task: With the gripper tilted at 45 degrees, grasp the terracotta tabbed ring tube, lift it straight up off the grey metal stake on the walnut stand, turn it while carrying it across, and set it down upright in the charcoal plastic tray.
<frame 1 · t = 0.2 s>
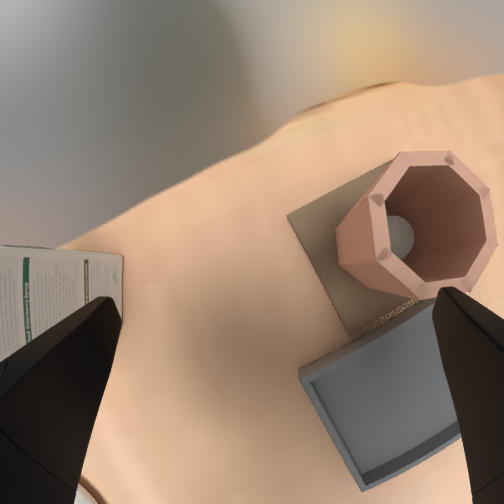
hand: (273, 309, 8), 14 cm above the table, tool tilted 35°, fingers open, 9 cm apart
charcoal tray: (399, 393, 21), on the table
ring tube: (377, 243, 21), point 1 cm above the table, touching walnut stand
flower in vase: (77, 501, 24), on the table
syrup box: (96, 288, 24), on the table
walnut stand: (373, 244, 22), on the table
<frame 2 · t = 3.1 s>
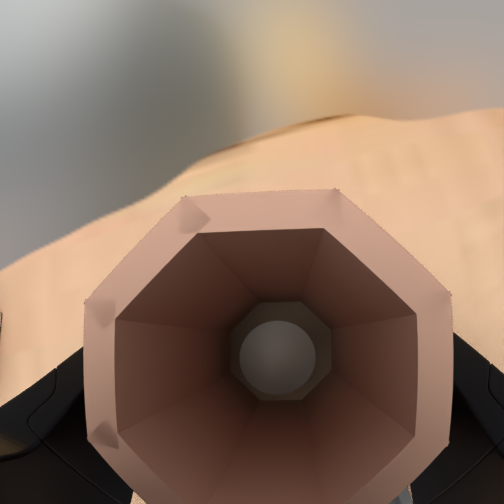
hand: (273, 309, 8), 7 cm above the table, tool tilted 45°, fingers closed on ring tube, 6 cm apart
ring tube: (280, 351, 14), point 1 cm above the table, touching gripper, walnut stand
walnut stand: (281, 350, 15), on the table
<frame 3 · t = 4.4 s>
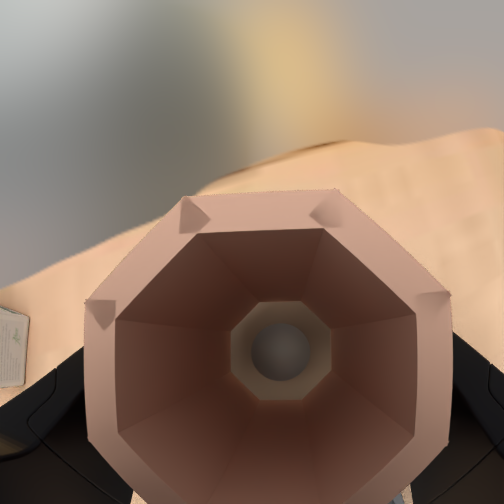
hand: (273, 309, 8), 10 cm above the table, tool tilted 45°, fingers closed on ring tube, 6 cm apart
ring tube: (280, 351, 14), point 4 cm above the table, touching gripper
syrup box: (8, 343, 20), on the table
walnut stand: (283, 347, 18), on the table
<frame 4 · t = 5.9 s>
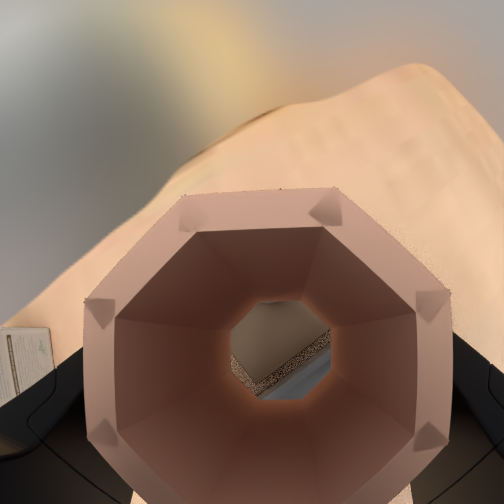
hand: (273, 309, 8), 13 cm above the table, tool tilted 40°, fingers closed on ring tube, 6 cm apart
charcoal tray: (333, 437, 19), on the table
ring tube: (280, 351, 14), point 7 cm above the table, touching gripper
syrup box: (34, 360, 23), on the table
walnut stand: (270, 285, 21), on the table
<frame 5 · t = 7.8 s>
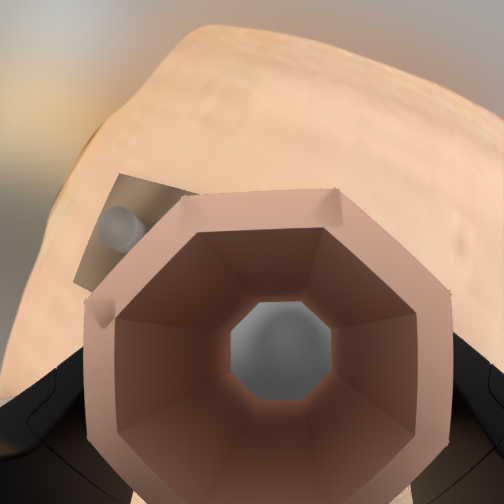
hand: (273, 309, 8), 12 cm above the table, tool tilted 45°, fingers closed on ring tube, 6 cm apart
charcoal tray: (282, 344, 20), on the table
ring tube: (280, 351, 14), point 6 cm above the table, touching gripper
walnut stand: (147, 247, 22), on the table
when the fingers open (8 cm above the table, at t = 9.2 s): ring tube stays where it is, resting on charcoal tray.
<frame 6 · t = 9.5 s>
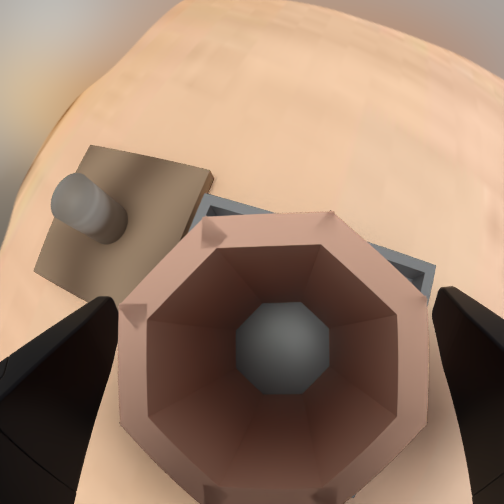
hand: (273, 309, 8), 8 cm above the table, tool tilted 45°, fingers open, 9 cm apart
charcoal tray: (281, 349, 15), on the table
ring tube: (282, 349, 15), point 1 cm above the table, touching charcoal tray
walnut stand: (117, 229, 18), on the table
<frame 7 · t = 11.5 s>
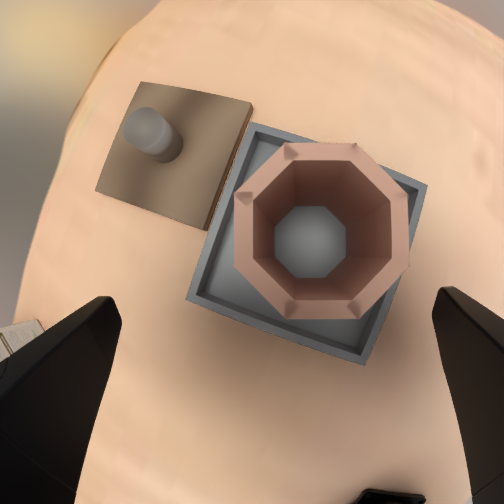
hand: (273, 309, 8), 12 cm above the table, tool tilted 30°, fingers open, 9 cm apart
charcoal tray: (309, 243, 20), on the table
ring tube: (310, 241, 20), point 1 cm above the table, touching charcoal tray
syrup box: (41, 359, 24), on the table
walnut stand: (172, 150, 22), on the table
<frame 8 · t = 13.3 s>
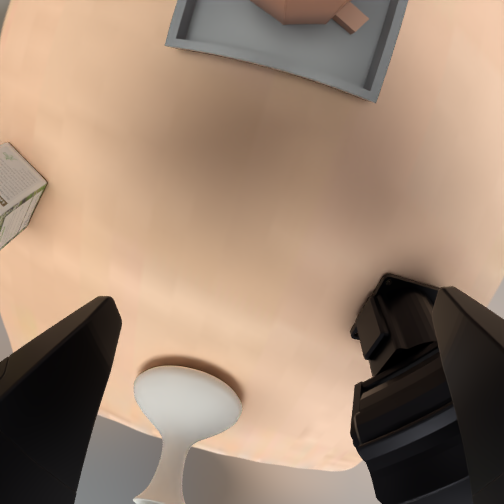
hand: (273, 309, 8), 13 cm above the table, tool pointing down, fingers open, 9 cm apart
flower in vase: (197, 388, 32), on the table
syrup box: (18, 185, 21), on the table
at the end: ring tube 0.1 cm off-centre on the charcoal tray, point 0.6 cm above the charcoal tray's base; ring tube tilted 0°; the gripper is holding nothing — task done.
